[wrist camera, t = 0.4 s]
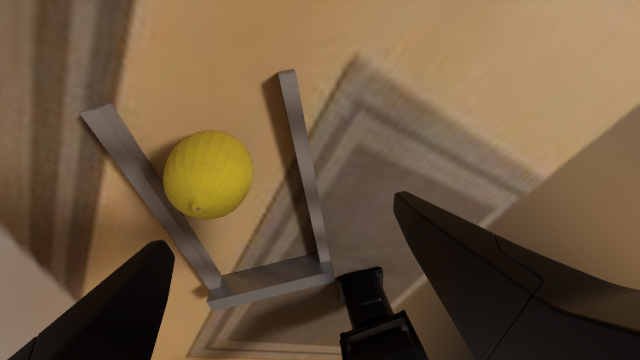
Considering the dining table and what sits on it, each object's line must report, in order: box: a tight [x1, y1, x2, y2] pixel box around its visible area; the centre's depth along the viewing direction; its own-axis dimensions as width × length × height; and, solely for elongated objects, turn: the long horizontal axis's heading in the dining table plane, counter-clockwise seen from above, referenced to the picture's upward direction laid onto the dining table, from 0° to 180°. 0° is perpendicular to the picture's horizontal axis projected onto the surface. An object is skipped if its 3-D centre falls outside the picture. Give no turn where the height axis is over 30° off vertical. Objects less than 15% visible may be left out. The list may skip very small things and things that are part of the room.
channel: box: [79, 69, 335, 311], centre depth 22 cm, size 23×14×3 cm, turn 8°
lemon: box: [163, 130, 253, 219], centre depth 17 cm, size 6×6×8 cm
